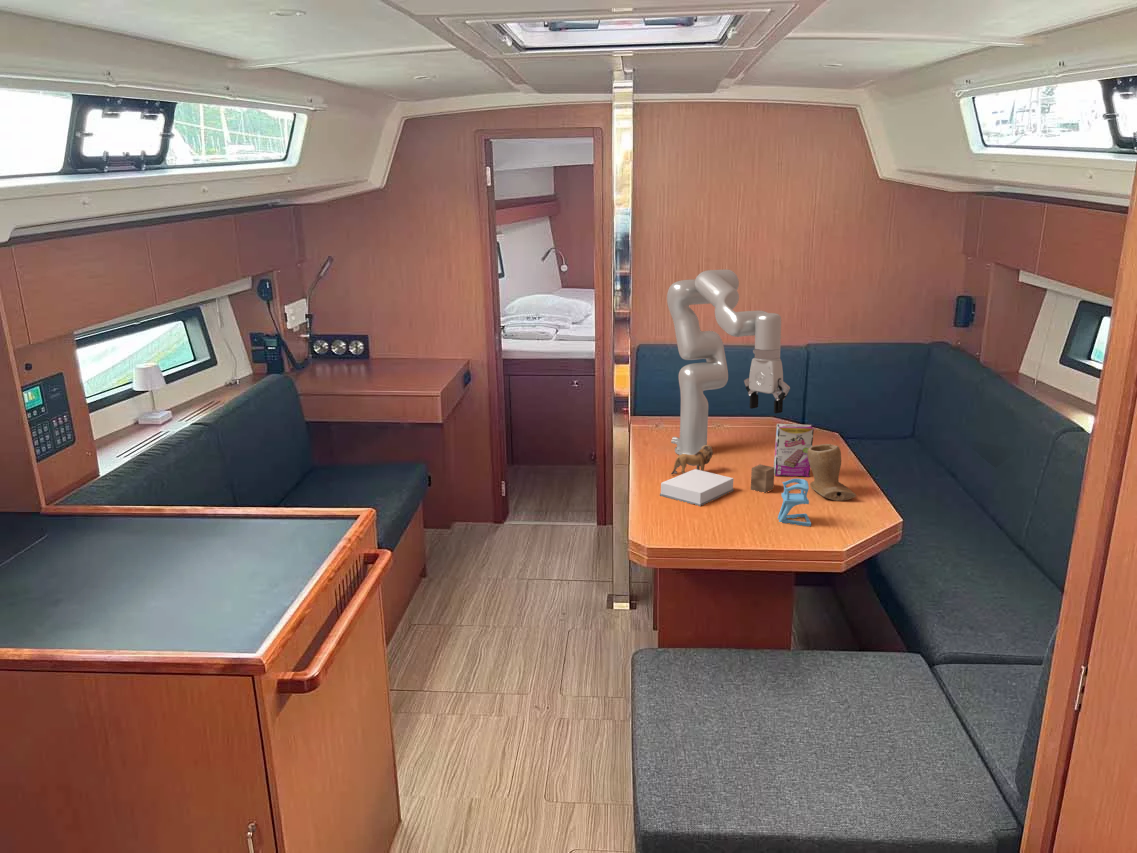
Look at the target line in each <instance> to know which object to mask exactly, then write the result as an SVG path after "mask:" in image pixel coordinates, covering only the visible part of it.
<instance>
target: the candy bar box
mask: <svg viewBox="0 0 1137 853" xmlns="http://www.w3.org/2000/svg"><path fill="white" fill-rule="evenodd" d="M775 431H776V432H775V445H774V457H773V458H774V459H773V467H775V470H774V477H793V476H803V477H802V478H810V477H811V467H810V464H809V461H808V455H807V452H808V449H809V448H810V447H812V446H813V443H814V442H813V441H814V431H815V430H814V427H813V425H812V424H793V423H792V424H791V423H776V430H775Z"/></svg>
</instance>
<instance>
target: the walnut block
mask: <svg viewBox="0 0 1137 853" xmlns="http://www.w3.org/2000/svg"><path fill="white" fill-rule="evenodd" d="M774 470H775V467H774V466H769V465H765V464H761V463H760V464H758V465H755V466H753V467H751V475H750V476H751V477H750V491H754V490H755V491H754V492H758V491H759V492H758V493H762V492H764V493H763V494H767V493H769V492H771V491H772V489H773V490H774V486H775V485H774V484H775V483H774V482H775V474H774ZM770 490H771V491H770ZM768 491H769V492H768ZM766 492H767V493H766Z"/></svg>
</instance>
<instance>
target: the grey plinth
mask: <svg viewBox="0 0 1137 853" xmlns="http://www.w3.org/2000/svg"><path fill="white" fill-rule="evenodd" d="M733 491H734V492H735V489H734V477H730V476H725V475H721V474H718V473H717V474H716V473H714V472H709V471H705V470H704V471H701V469H699V470H697V468H694V469H692V470H689V471H685V473H684V474H683V473H682V474H680V475H677V476H675V477H673V478H670V479H667V480H664V481H662V482H661V483H660V493H659V496H660V497H664V498H667V499H671V500H674V499H675V501H678V500H679V502H682V501H683V502H682V503H685V502H687V503H686V504H689V503H690V505H693V504H695V505H694V506H697V505H698V506H697V507H702V506H704V504H705V505H707V504H708V502H709V503H710V501H711V502H713V501H715V500H717V499H720V498H721V496H722V497H723V495H724V496H725V494H726V495H728V494H730V493H733ZM729 492H730V493H729ZM727 493H728V494H727ZM712 500H713V501H712ZM706 503H707V504H706ZM701 505H702V506H701Z"/></svg>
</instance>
